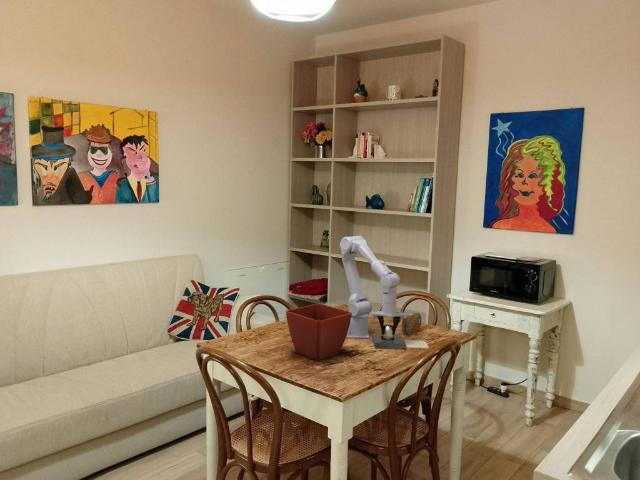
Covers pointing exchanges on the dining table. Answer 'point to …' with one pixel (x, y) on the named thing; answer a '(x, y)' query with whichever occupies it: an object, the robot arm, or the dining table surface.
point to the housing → (387, 342)
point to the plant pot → (318, 330)
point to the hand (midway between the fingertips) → (388, 334)
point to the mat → (415, 344)
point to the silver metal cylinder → (388, 332)
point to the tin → (411, 323)
